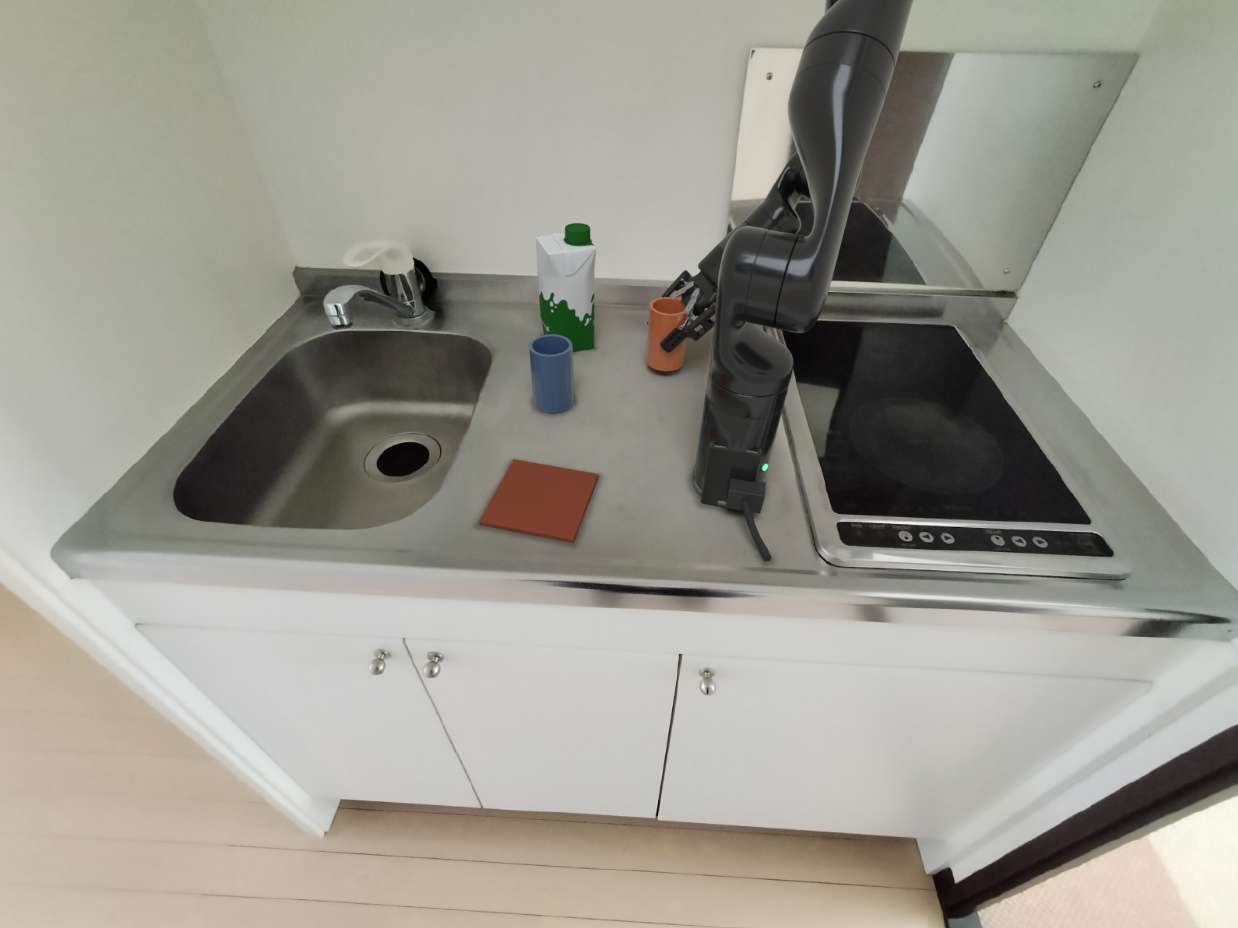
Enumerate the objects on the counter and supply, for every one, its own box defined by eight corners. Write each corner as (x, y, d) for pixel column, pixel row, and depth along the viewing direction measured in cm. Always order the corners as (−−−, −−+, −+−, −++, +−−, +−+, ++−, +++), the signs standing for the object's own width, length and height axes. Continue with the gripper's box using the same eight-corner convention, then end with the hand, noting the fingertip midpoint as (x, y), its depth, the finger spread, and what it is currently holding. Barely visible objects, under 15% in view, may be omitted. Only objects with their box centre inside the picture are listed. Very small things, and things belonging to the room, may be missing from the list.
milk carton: (600, 350, 105) (601, 236, 92) (550, 358, 102) (543, 242, 89) (584, 326, 111) (583, 216, 98) (537, 334, 109) (529, 222, 95)
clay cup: (680, 373, 97) (686, 317, 91) (642, 368, 98) (646, 312, 92) (685, 354, 102) (691, 299, 95) (650, 349, 103) (653, 295, 96)
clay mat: (573, 542, 72) (573, 539, 71) (479, 524, 73) (478, 521, 73) (598, 477, 80) (598, 473, 80) (513, 462, 82) (513, 458, 82)
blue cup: (567, 416, 90) (565, 359, 84) (528, 410, 91) (522, 352, 85) (578, 393, 95) (577, 337, 88) (541, 387, 96) (537, 331, 89)
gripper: (704, 228, 94) (629, 304, 100) (741, 264, 84) (655, 348, 89) (730, 258, 99) (657, 330, 104) (769, 296, 89) (686, 374, 94)
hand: (657, 338), depth 97 cm, fingers closed on clay cup, 6 cm apart
